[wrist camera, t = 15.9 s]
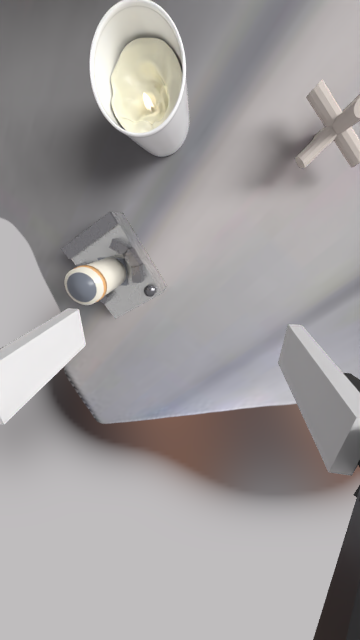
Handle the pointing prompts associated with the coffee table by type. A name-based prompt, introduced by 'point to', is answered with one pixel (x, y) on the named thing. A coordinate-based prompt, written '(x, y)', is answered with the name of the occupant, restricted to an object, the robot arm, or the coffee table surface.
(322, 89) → the pipe connector
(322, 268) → the coffee table surface
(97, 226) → the cradle fixture plate
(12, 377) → the robot arm
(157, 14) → the candle holder
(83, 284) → the cream flashlight
